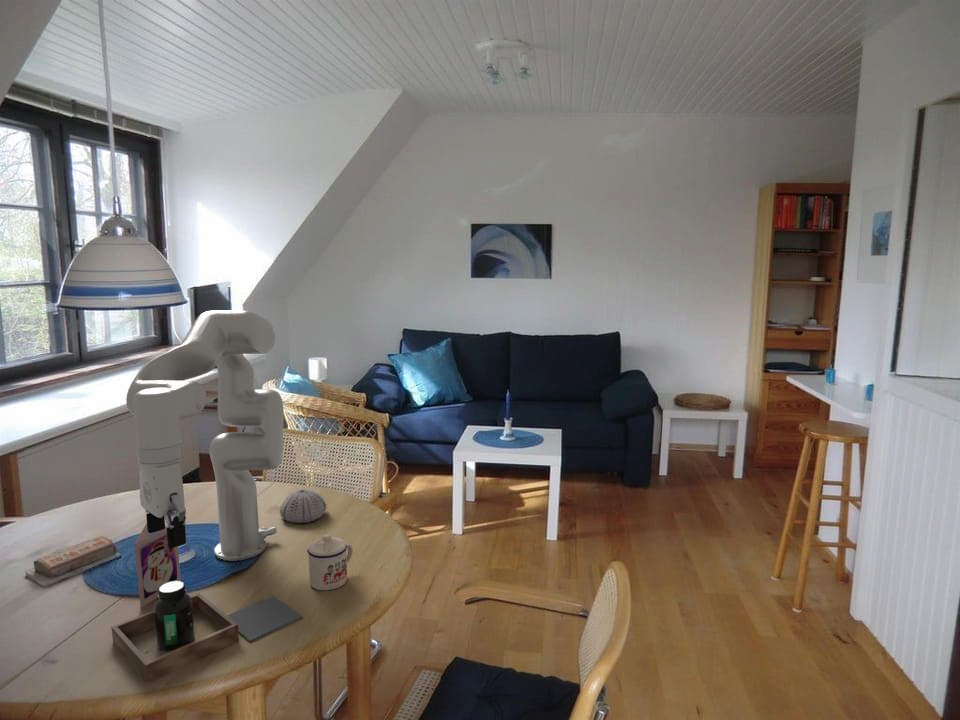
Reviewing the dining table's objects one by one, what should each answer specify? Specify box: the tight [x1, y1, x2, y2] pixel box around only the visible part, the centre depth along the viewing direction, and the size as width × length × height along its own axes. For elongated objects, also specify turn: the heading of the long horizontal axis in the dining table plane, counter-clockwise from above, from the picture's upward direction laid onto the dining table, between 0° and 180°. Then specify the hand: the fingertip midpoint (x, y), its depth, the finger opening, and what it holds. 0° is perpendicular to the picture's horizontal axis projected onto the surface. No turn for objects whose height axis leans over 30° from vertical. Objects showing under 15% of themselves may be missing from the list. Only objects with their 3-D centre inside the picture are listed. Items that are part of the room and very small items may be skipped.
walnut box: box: [111, 592, 240, 684], centre depth 130 cm, size 18×18×4 cm
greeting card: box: [134, 522, 182, 608], centre depth 147 cm, size 11×7×15 cm, turn 160°
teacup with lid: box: [306, 533, 354, 591], centre depth 154 cm, size 12×9×12 cm
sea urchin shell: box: [279, 488, 327, 524], centre depth 190 cm, size 13×14×8 cm
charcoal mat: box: [226, 595, 304, 643], centre depth 138 cm, size 12×12×1 cm
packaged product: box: [24, 535, 122, 588], centre depth 160 cm, size 18×5×10 cm
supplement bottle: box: [153, 580, 195, 652], centre depth 129 cm, size 7×7×12 cm
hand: (166, 538), depth 126 cm, fingers open, 9 cm apart
